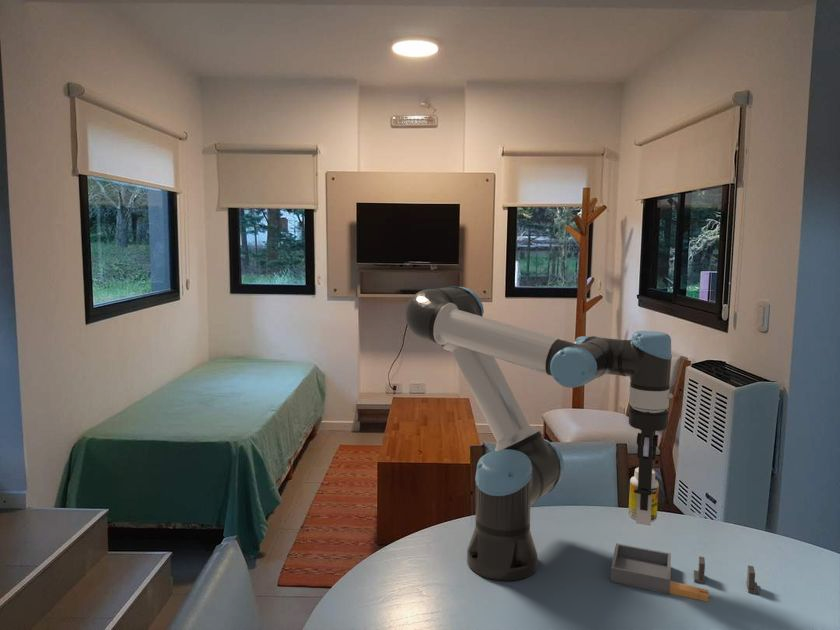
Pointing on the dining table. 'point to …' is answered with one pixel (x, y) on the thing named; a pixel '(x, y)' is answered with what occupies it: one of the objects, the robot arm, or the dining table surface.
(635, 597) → the dining table surface
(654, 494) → the supplement bottle
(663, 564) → the parts tray
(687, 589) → the fuse puller tool
